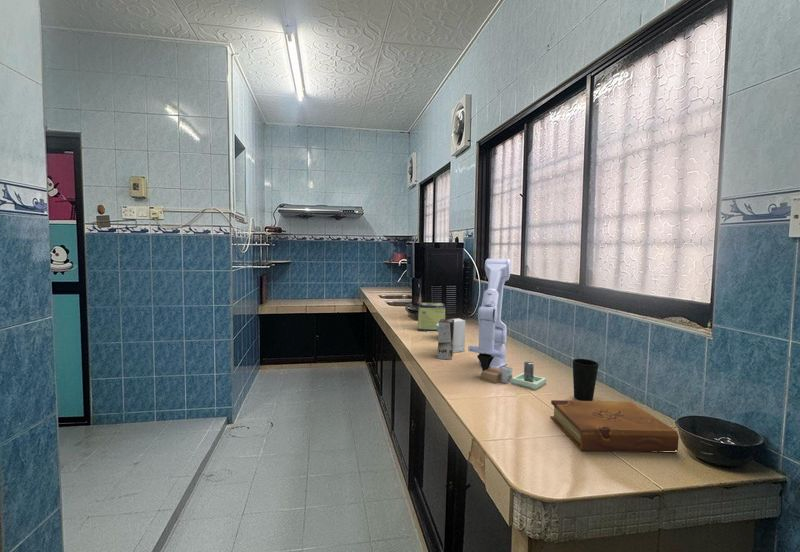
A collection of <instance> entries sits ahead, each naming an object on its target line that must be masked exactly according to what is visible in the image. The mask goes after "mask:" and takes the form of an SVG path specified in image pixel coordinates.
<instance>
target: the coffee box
mask: <svg viewBox="0 0 800 552" xmlns="http://www.w3.org/2000/svg"><path fill="white" fill-rule="evenodd" d="M452 319H453V318H450V319H449V318H447V319H446V318H445V319H440V321H439V333H437V336H438V337H437V338H438V339H437V359H440V360H449V361H450V360H452V359H453V356H454V353H453V341H454V320H452Z"/></svg>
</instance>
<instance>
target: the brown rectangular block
mask: <svg viewBox="0 0 800 552" xmlns="http://www.w3.org/2000/svg"><path fill="white" fill-rule="evenodd" d="M500 368H501V367H500ZM500 368H497V367H489V369H486V370H484V371H482V370H481V371H480V380H482V381H485V382H488V383H493V384H495V385H496V384H498V383H500V382H499V371H500Z"/></svg>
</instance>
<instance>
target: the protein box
mask: <svg viewBox="0 0 800 552" xmlns="http://www.w3.org/2000/svg"><path fill="white" fill-rule="evenodd" d="M440 319H446V304H445V303H444V302H443V303H442V302H418V313H417V331H418V332H427V331H437V327H436V324H438V323H439V321H440Z"/></svg>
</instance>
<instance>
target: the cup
mask: <svg viewBox="0 0 800 552" xmlns="http://www.w3.org/2000/svg"><path fill="white" fill-rule="evenodd" d="M598 371H599V363H598V362H597V361H595V360H593V359H587V358H586V359H585V358H573V359H572V380H573V385H572V386H573V397H574V398H575V399H576V400H577V401H594V395H595V389H596V383H597V377H598Z"/></svg>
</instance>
